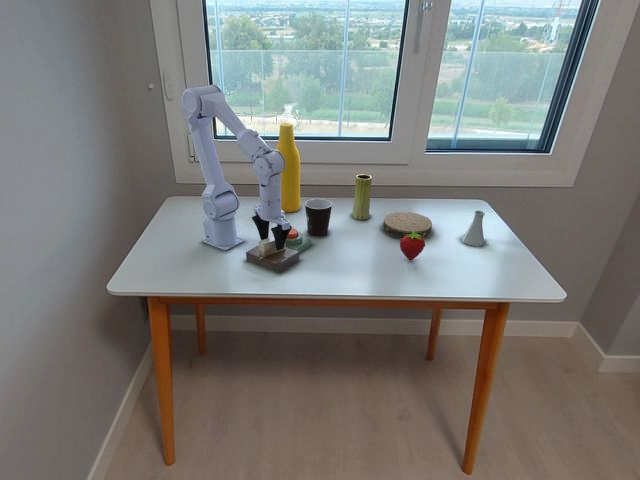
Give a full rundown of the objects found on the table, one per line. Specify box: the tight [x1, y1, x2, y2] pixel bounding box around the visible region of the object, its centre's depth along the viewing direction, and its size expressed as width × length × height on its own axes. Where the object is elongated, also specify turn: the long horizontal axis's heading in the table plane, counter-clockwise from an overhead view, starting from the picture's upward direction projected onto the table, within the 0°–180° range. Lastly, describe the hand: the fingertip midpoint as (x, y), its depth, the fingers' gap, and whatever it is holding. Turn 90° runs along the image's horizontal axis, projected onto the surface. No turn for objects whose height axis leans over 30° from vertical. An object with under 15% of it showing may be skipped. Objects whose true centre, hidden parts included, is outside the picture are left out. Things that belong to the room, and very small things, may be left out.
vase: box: [351, 173, 373, 220], centre depth 155 cm, size 6×6×14 cm
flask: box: [461, 210, 486, 247], centre depth 142 cm, size 7×7×10 cm
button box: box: [285, 230, 312, 253], centre depth 138 cm, size 10×8×4 cm
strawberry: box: [399, 229, 426, 262], centre depth 131 cm, size 6×8×10 cm
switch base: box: [245, 244, 300, 275], centre depth 130 cm, size 12×12×3 cm
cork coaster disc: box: [382, 211, 433, 240], centre depth 150 cm, size 16×16×3 cm
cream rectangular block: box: [258, 235, 285, 257], centre depth 128 cm, size 8×2×4 cm, turn 131°
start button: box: [287, 227, 298, 239], centre depth 137 cm, size 4×4×2 cm
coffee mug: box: [304, 198, 333, 238], centre depth 146 cm, size 12×9×10 cm
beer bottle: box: [275, 122, 301, 213], centre depth 156 cm, size 9×9×29 cm
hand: (272, 244), depth 128 cm, fingers open, 7 cm apart
